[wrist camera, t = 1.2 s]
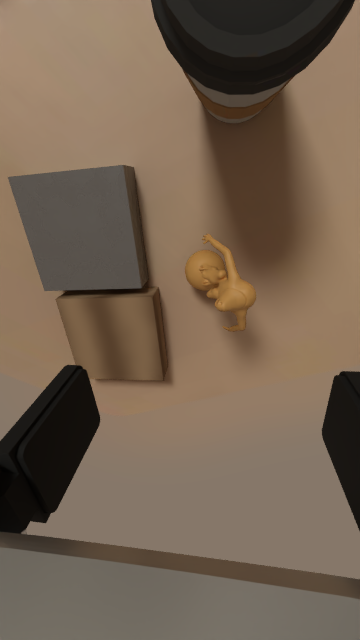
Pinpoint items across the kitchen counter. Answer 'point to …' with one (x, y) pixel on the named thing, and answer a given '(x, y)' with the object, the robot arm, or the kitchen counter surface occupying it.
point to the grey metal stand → (83, 227)
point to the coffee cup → (245, 46)
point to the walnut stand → (116, 332)
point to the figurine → (221, 281)
